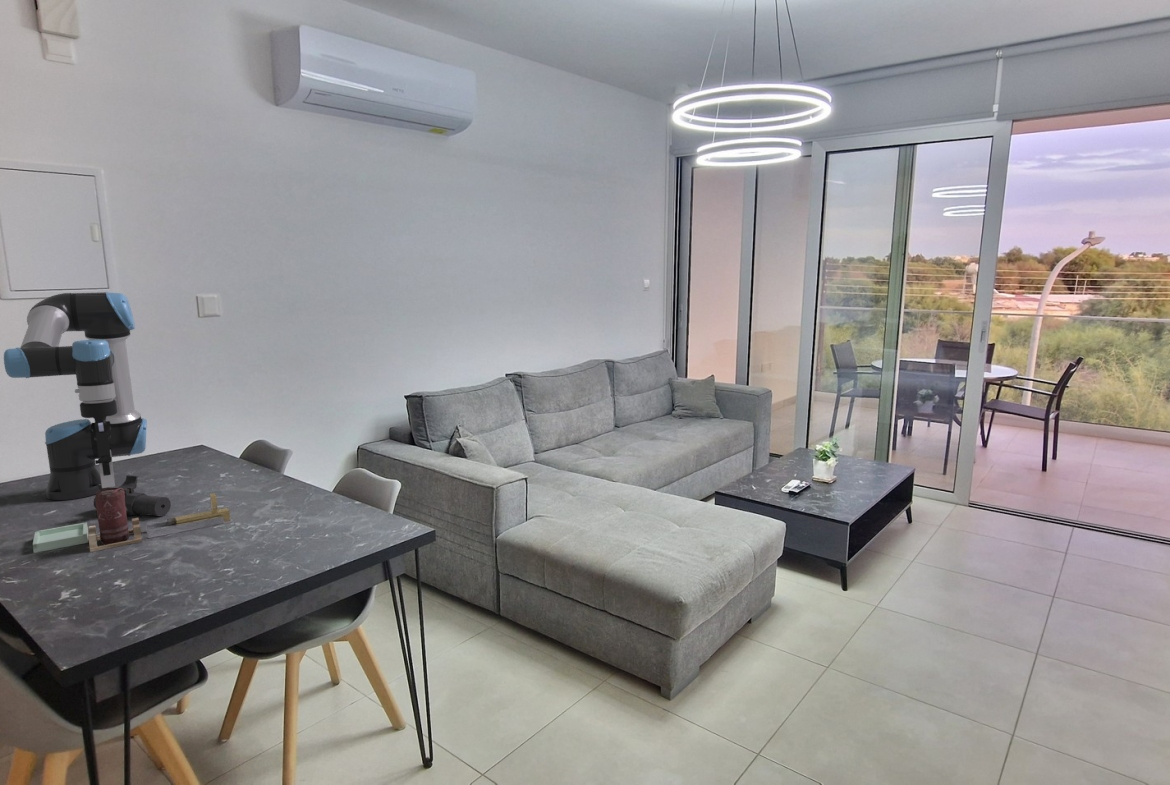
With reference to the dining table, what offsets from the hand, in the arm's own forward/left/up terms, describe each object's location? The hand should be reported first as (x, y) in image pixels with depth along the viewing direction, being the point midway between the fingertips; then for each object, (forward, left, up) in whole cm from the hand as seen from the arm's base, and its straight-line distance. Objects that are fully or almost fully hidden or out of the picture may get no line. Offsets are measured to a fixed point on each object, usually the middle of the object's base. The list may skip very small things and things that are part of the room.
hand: (108, 480), depth 170 cm
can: (0, 0, -17) cm, 17 cm away
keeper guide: (0, +16, -17) cm, 23 cm away
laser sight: (-23, +5, -17) cm, 29 cm away
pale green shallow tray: (-9, -11, -17) cm, 22 cm away
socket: (0, 0, -17) cm, 17 cm away
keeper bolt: (0, +20, -17) cm, 26 cm away
